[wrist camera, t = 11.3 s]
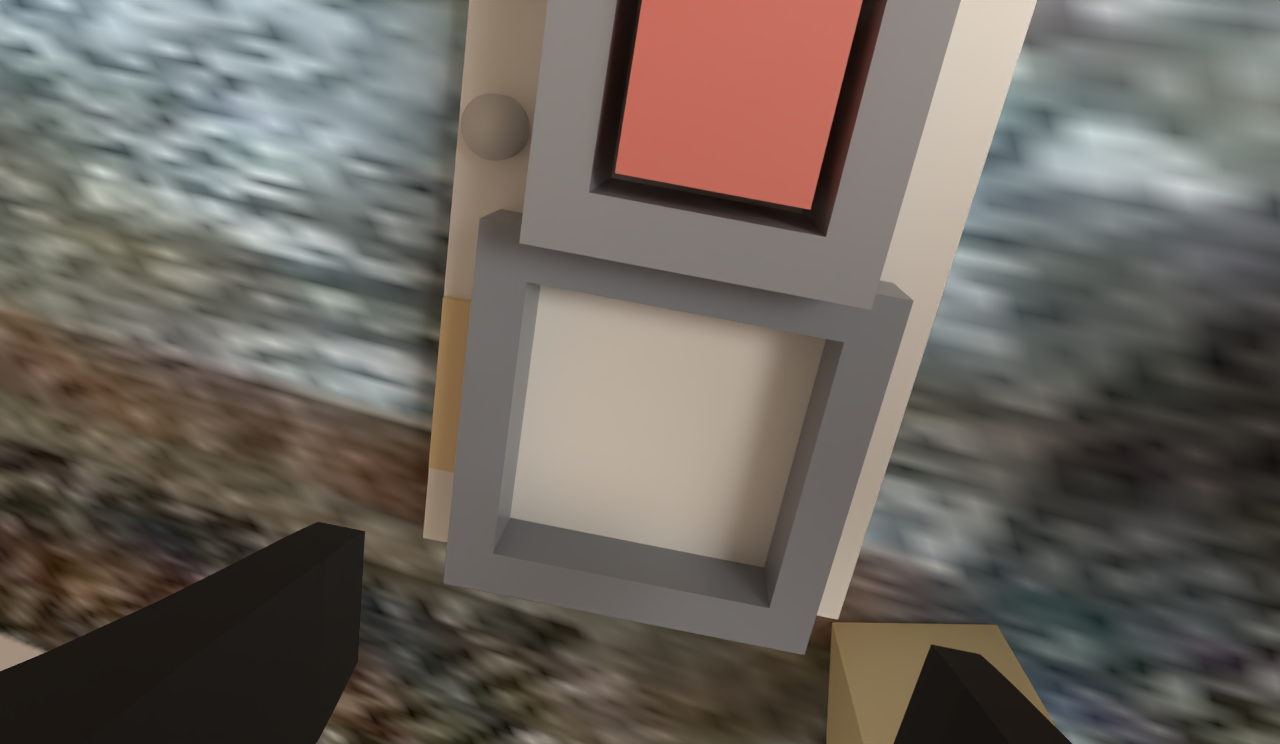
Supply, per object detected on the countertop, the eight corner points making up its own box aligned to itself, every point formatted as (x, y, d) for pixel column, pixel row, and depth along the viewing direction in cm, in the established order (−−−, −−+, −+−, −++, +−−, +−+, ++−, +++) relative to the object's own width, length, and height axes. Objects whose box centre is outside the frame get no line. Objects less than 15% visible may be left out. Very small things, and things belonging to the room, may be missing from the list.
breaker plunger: (829, 17, 13) (864, -10, 10) (788, 190, 14) (810, 209, 11) (661, -14, 13) (649, -49, 10) (632, 161, 14) (614, 172, 11)
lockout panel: (1036, -64, 13) (1166, -134, 10) (831, 594, 18) (864, 717, 15) (500, -160, 14) (422, -266, 10) (437, 516, 19) (369, 618, 15)
